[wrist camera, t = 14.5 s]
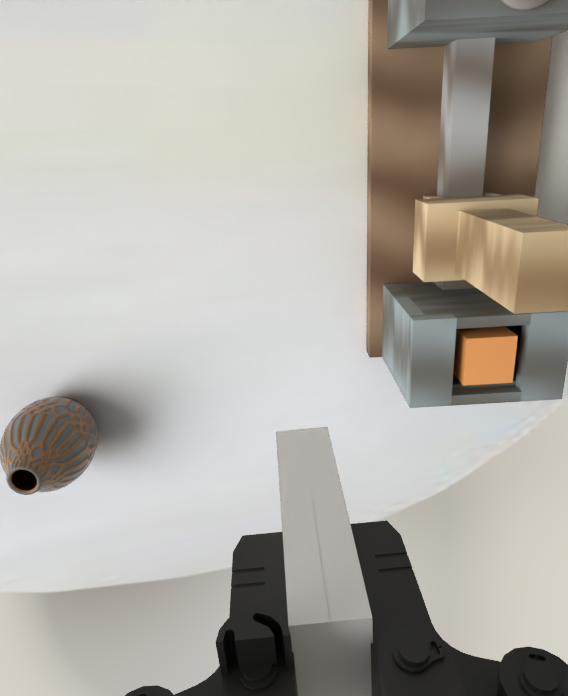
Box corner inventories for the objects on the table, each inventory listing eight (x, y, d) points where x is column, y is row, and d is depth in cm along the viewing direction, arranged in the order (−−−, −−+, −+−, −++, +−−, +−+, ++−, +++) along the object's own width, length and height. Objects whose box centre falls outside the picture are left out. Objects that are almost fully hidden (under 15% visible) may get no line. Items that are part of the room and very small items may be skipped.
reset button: (453, 326, 36) (466, 339, 33) (501, 323, 36) (517, 335, 33) (450, 370, 37) (463, 385, 35) (497, 367, 37) (512, 382, 35)
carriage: (407, 196, 38) (481, 224, 25) (505, 191, 38) (629, 216, 25) (405, 265, 40) (473, 325, 27) (498, 260, 40) (611, 317, 27)
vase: (116, 401, 46) (84, 457, 38) (94, 465, 48) (59, 532, 40) (36, 373, 45) (-16, 425, 37) (17, 441, 47) (-36, 504, 39)
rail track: (368, -15, 36) (410, -80, 25) (548, -24, 36) (664, -92, 25) (366, 350, 45) (396, 413, 34) (509, 342, 45) (581, 402, 35)
